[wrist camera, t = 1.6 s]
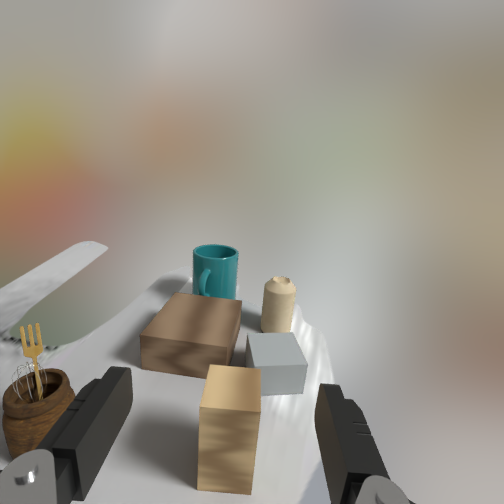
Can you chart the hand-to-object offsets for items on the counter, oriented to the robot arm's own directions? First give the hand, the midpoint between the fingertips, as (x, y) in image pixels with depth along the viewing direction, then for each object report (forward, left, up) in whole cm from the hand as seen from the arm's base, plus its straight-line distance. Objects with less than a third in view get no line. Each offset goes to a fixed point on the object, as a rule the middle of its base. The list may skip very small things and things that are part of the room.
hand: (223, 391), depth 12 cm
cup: (-7, +43, -20) cm, 48 cm away
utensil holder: (-19, +12, -20) cm, 30 cm away
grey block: (+5, +24, -20) cm, 32 cm away
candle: (+6, +36, -20) cm, 42 cm away
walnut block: (-7, +29, -20) cm, 36 cm away
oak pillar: (0, +11, -20) cm, 23 cm away
